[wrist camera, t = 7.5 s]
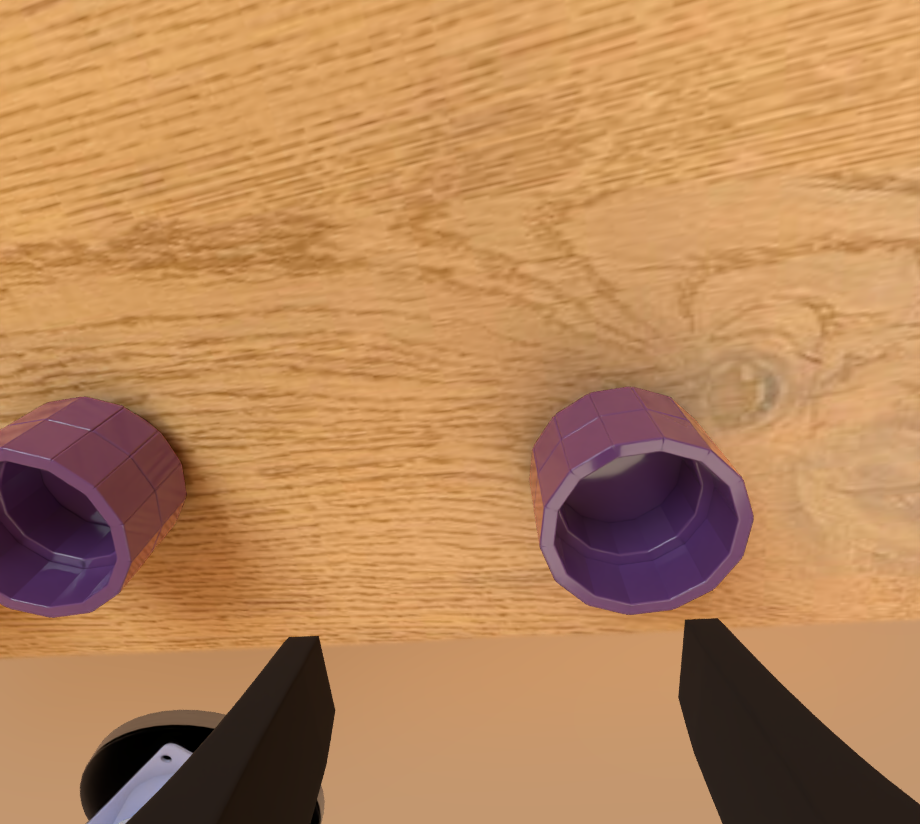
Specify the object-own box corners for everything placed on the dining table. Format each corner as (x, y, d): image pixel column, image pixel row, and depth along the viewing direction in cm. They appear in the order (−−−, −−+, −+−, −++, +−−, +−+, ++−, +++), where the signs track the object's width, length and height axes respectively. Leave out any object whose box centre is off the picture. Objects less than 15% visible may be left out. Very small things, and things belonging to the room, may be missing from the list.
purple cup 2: (611, 558, 21) (639, 645, 17) (493, 465, 20) (496, 537, 16) (736, 455, 19) (797, 527, 16) (616, 345, 18) (651, 395, 14)
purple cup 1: (144, 562, 21) (75, 647, 18) (-2, 471, 20) (-108, 543, 16) (224, 462, 20) (167, 534, 16) (71, 356, 18) (-30, 407, 15)
